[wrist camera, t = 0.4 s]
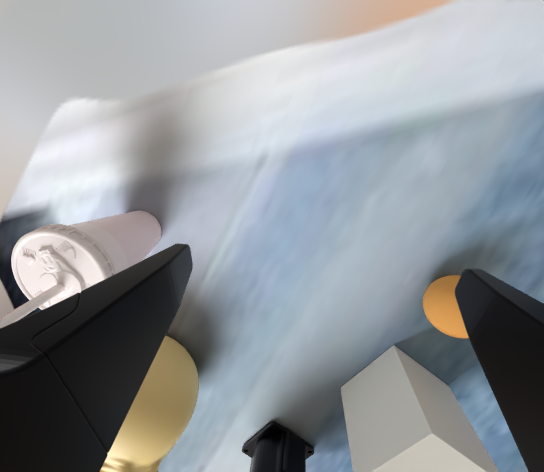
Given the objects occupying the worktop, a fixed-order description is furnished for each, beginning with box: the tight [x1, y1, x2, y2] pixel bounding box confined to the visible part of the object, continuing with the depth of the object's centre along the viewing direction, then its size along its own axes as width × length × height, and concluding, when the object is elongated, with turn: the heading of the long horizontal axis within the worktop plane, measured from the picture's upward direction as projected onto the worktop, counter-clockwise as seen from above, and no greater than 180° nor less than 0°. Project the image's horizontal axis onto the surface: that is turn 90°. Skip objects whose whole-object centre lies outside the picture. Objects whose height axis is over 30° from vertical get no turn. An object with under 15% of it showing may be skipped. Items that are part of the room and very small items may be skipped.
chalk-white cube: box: [340, 345, 499, 472], centre depth 25 cm, size 8×8×9 cm
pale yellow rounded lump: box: [100, 336, 199, 472], centre depth 27 cm, size 12×12×11 cm
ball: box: [423, 275, 469, 338], centre depth 23 cm, size 5×5×5 cm
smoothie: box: [0, 210, 162, 328], centre depth 20 cm, size 6×6×14 cm
